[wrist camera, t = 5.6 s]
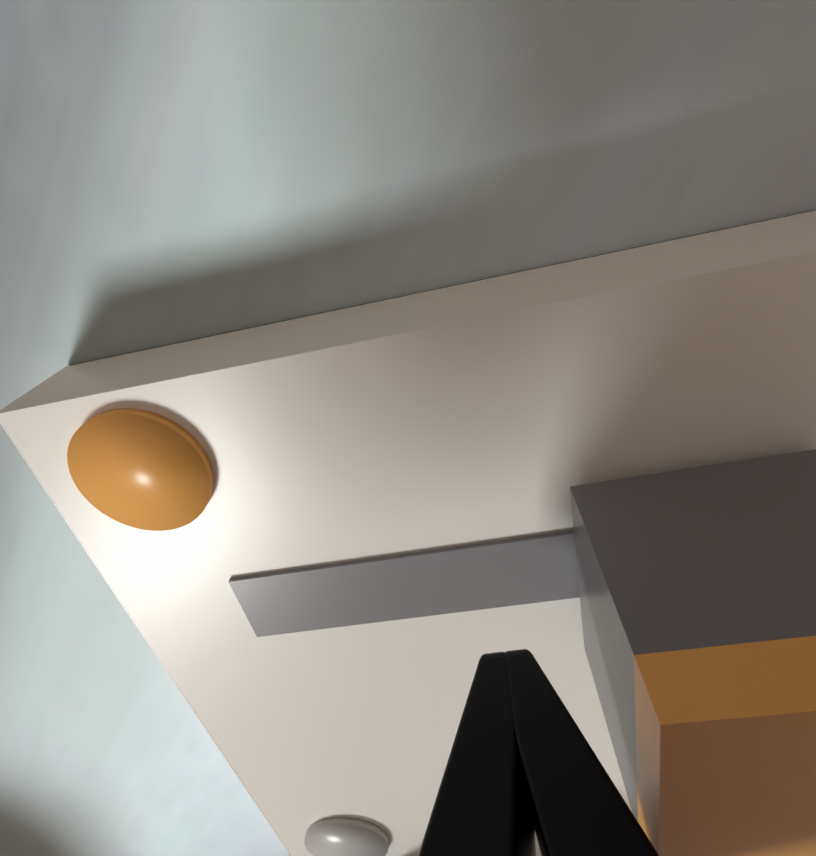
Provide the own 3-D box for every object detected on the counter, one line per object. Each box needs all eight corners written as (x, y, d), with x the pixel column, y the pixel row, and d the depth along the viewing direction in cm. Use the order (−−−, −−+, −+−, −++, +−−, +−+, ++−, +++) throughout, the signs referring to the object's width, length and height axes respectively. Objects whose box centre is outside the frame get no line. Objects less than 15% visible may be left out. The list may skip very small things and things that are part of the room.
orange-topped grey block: (800, 623, 10) (994, 885, 7) (584, 647, 11) (657, 901, 7) (835, 446, 8) (1131, 683, 5) (569, 486, 9) (660, 726, 5)
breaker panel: (768, 839, 18) (807, 922, 17) (350, 864, 21) (341, 940, 19) (905, 191, 9) (1041, 211, 7) (65, 366, 11) (-15, 419, 9)
